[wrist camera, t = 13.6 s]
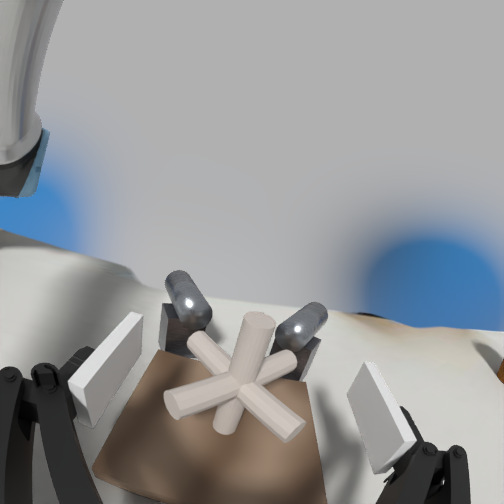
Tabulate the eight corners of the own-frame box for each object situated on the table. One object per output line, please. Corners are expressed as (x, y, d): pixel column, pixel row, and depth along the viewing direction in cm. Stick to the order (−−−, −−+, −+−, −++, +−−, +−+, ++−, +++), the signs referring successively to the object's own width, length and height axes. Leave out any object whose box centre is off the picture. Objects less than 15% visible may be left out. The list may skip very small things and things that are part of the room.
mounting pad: (95, 476, 10) (91, 467, 10) (157, 360, 25) (158, 349, 25) (319, 519, 11) (328, 513, 10) (301, 392, 25) (305, 382, 25)
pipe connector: (135, 399, 17) (139, 286, 15) (232, 370, 24) (261, 276, 22) (212, 503, 11) (257, 416, 8) (311, 438, 18) (370, 342, 15)
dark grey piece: (287, 397, 24) (315, 332, 22) (254, 379, 26) (275, 314, 24) (312, 367, 30) (335, 309, 28) (283, 353, 32) (303, 296, 30)
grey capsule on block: (206, 369, 26) (220, 301, 24) (168, 371, 24) (176, 300, 22) (187, 331, 32) (197, 271, 30) (155, 332, 30) (162, 269, 28)
